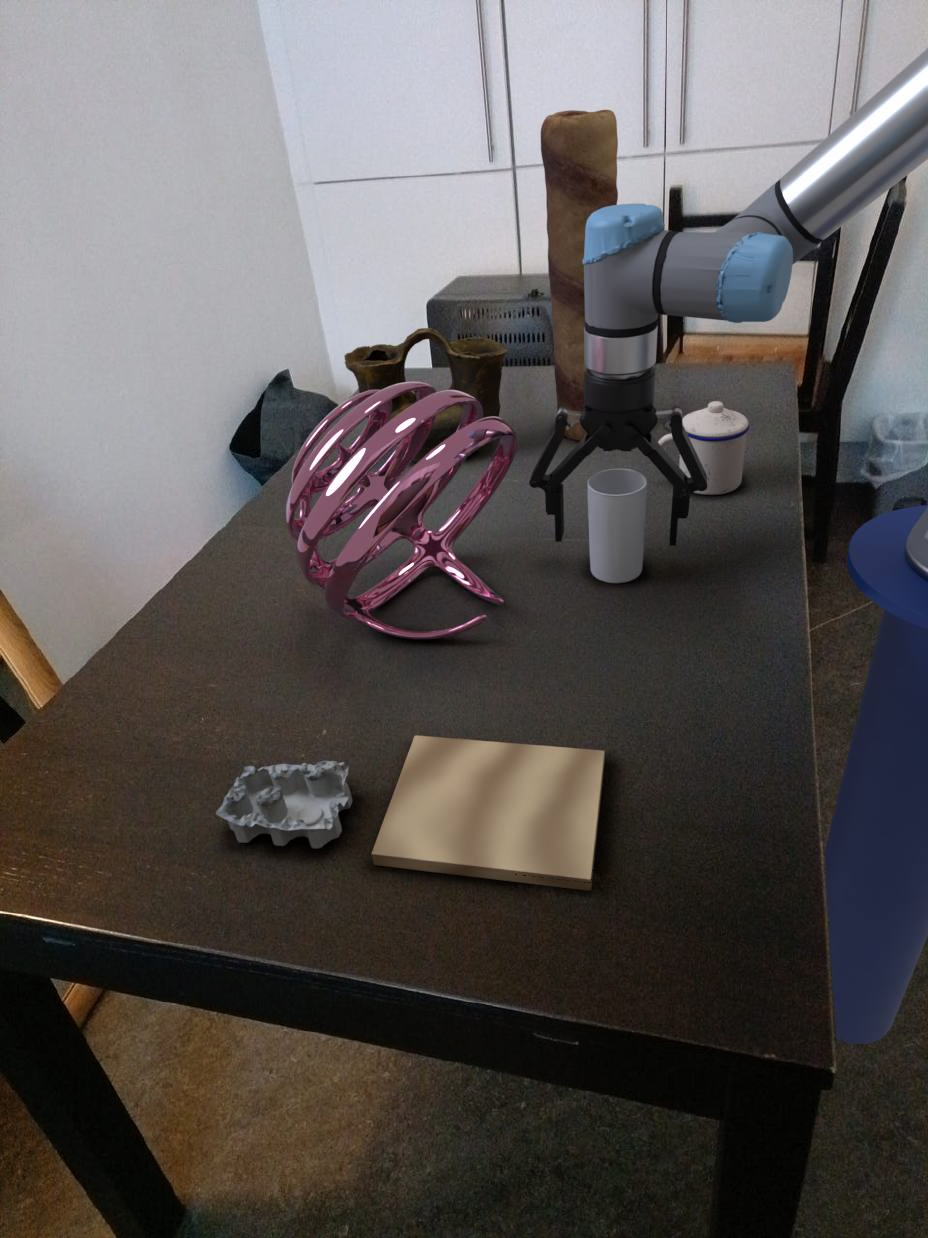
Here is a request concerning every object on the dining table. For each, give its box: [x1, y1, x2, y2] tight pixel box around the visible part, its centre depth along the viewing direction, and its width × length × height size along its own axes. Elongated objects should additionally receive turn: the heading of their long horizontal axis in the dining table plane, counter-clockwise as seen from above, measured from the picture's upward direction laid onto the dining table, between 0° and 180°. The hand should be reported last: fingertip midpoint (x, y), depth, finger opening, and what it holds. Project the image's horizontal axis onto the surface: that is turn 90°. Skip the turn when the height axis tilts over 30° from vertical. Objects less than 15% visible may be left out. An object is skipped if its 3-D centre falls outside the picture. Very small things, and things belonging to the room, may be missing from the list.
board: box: [370, 734, 606, 892], centre depth 71 cm, size 18×14×2 cm
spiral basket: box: [285, 381, 519, 641], centre depth 91 cm, size 28×28×27 cm
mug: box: [586, 467, 648, 584], centre depth 99 cm, size 10×7×12 cm, turn 165°
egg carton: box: [215, 760, 353, 849], centre depth 73 cm, size 11×8×4 cm
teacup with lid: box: [657, 400, 750, 496], centre depth 113 cm, size 12×9×12 cm
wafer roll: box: [540, 109, 619, 442], centre depth 123 cm, size 10×11×45 cm
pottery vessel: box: [343, 327, 508, 463], centre depth 128 cm, size 25×11×20 cm, turn 89°
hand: (615, 538), depth 100 cm, fingers open, 13 cm apart
